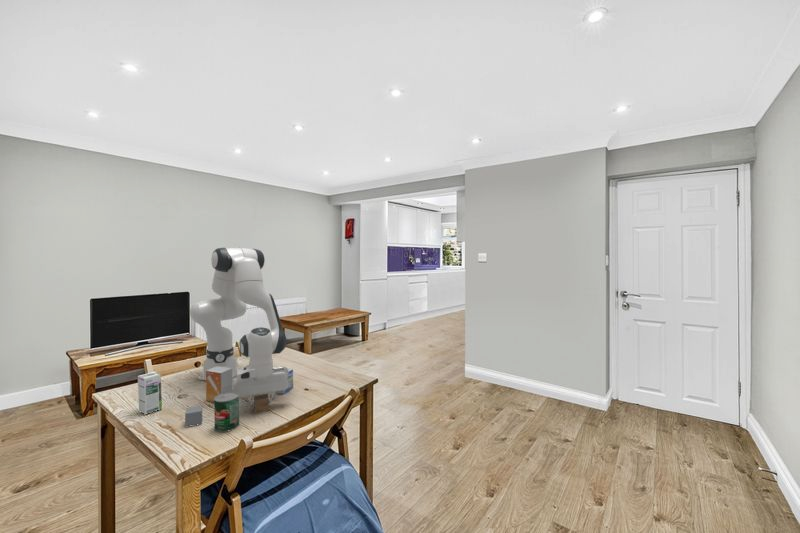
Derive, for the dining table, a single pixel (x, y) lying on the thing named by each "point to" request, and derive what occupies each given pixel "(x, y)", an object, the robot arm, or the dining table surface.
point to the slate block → (193, 416)
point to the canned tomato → (226, 411)
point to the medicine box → (290, 382)
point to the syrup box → (149, 392)
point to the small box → (218, 382)
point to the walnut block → (261, 403)
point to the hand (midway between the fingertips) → (261, 403)
